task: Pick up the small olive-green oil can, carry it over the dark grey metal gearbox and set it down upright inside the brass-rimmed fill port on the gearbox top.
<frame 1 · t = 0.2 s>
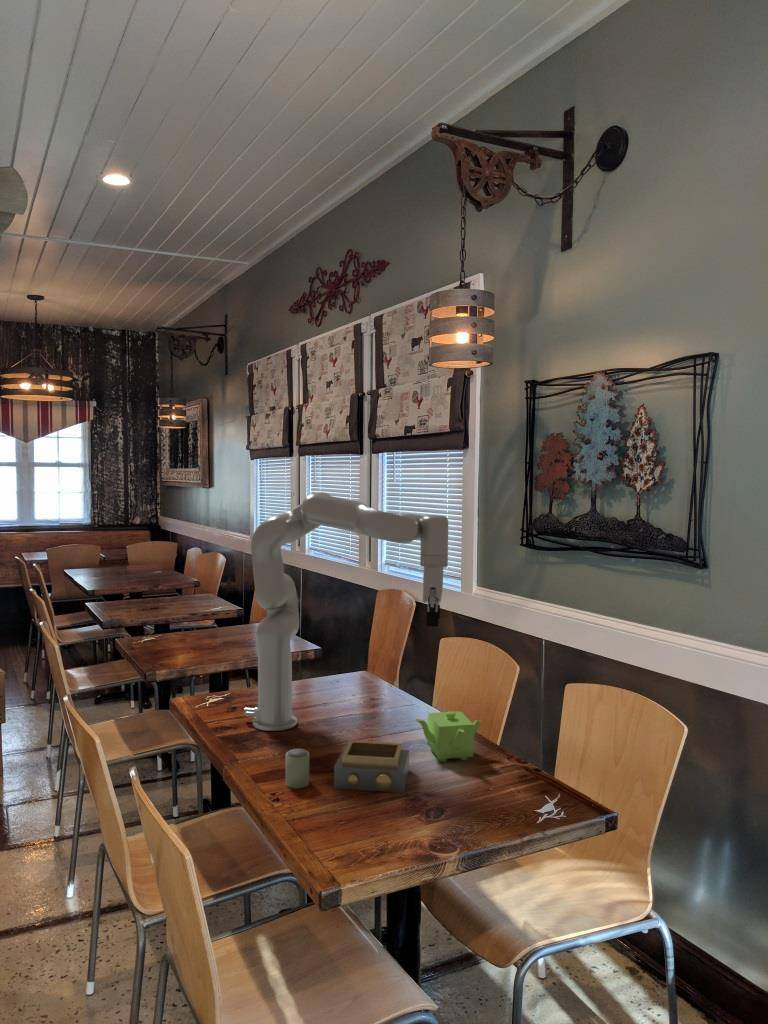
hand: (433, 622, 207), 31 cm above the table, fingers open, 9 cm apart
oil can: (297, 783, 175), on the table
kettle: (447, 756, 193), on the table
gearbox: (372, 778, 178), on the table
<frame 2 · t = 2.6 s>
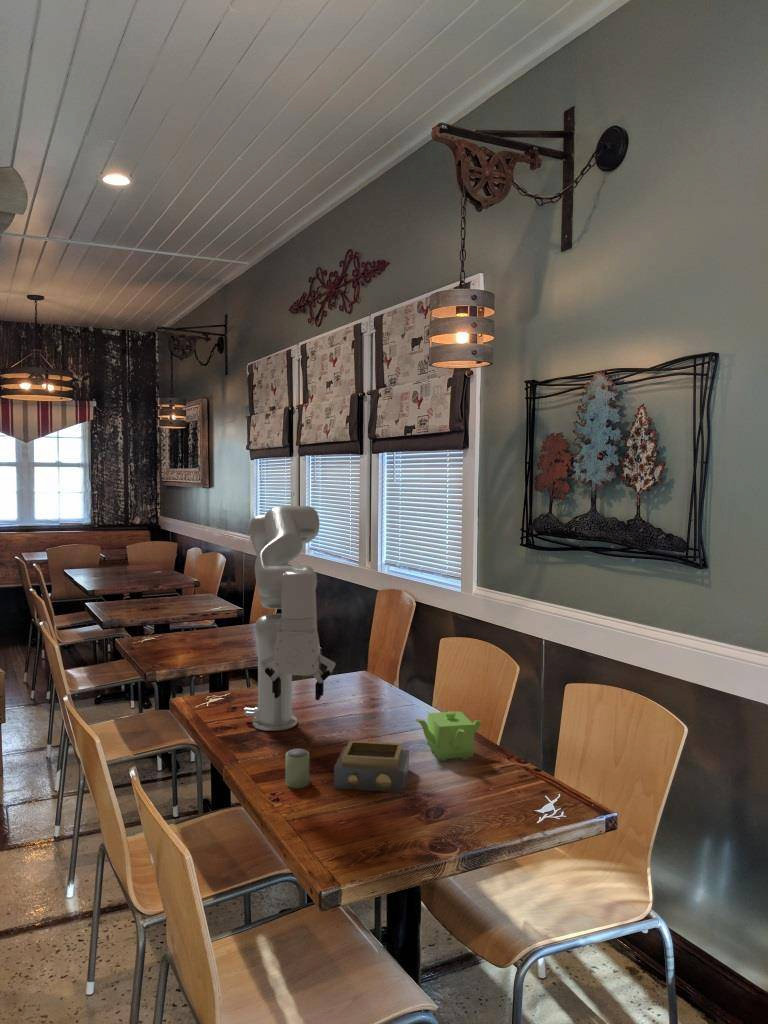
hand: (297, 697, 174), 20 cm above the table, fingers open, 9 cm apart
nothing on the table moved.
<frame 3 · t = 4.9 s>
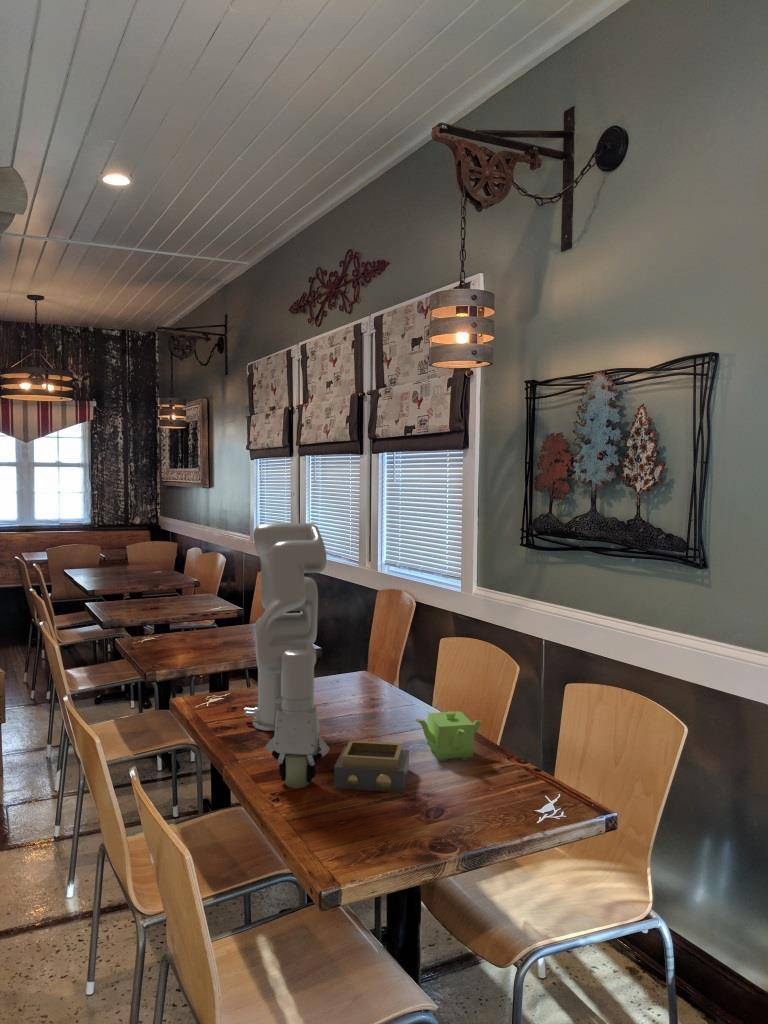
hand: (297, 778, 175), 1 cm above the table, fingers closed on oil can, 5 cm apart
oil can: (297, 783, 175), on the table, touching gripper
everything else where it was.
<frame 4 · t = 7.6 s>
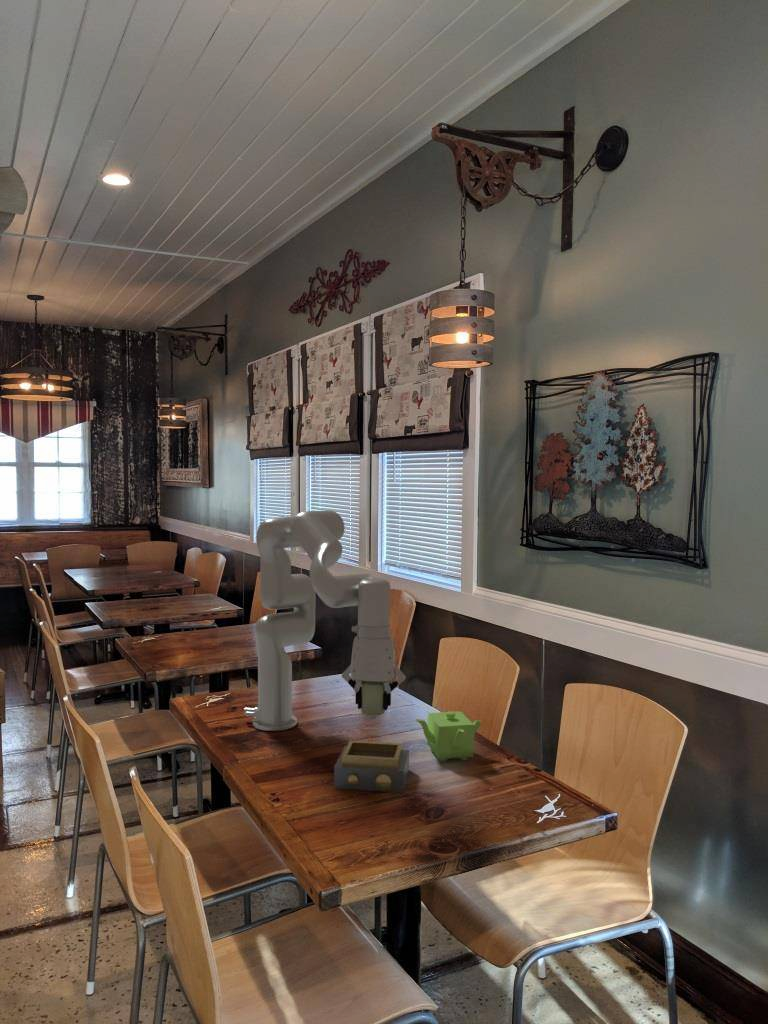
hand: (373, 707, 177), 17 cm above the table, fingers closed on oil can, 5 cm apart
oil can: (373, 711, 177), point 16 cm above the table, touching gripper
everything else where it was.
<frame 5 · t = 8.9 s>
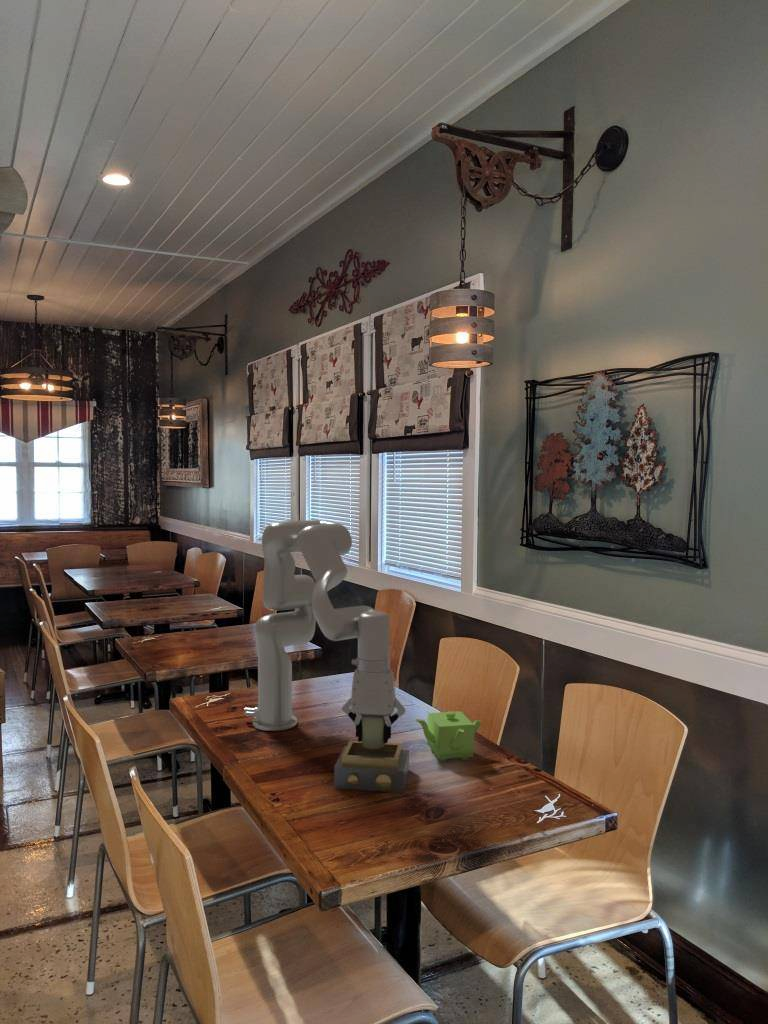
hand: (373, 739, 177), 9 cm above the table, fingers closed on oil can, 5 cm apart
oil can: (373, 744, 177), point 8 cm above the table, touching gripper
everything else where it was.
when the fingers open (7 cm above the table, at t = 10.2 s): oil can drops 1 cm, resting on gearbox.
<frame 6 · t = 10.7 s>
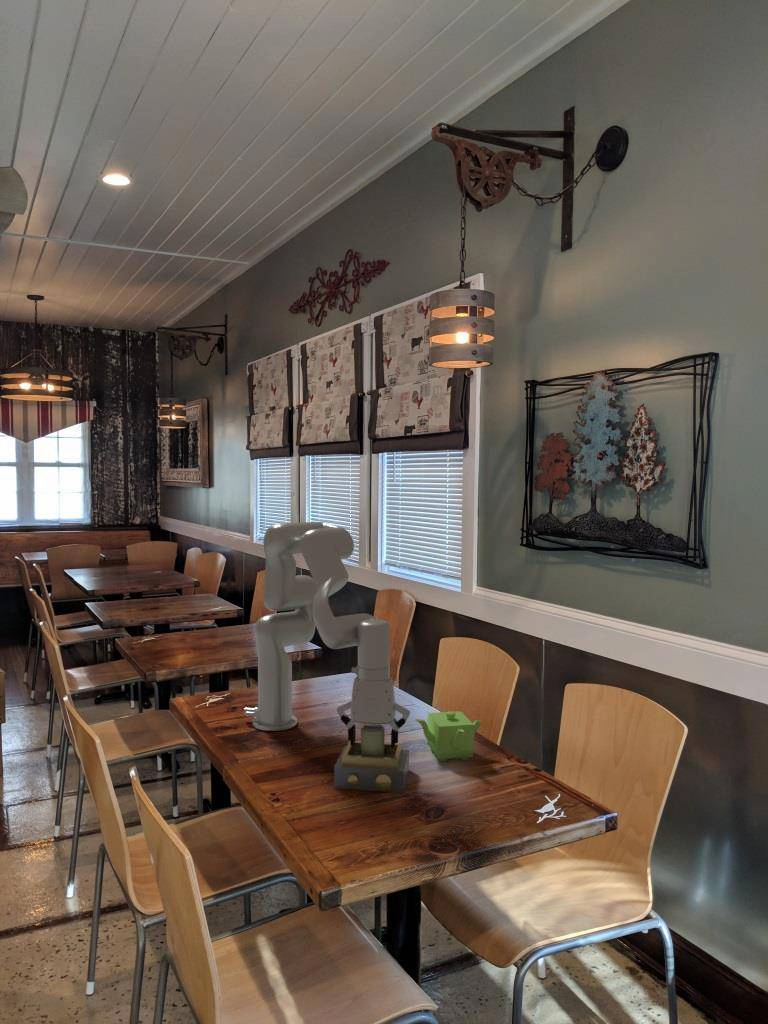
hand: (373, 744, 177), 8 cm above the table, fingers open, 9 cm apart
oil can: (372, 757, 178), point 5 cm above the table, touching gearbox
everything else where it was.
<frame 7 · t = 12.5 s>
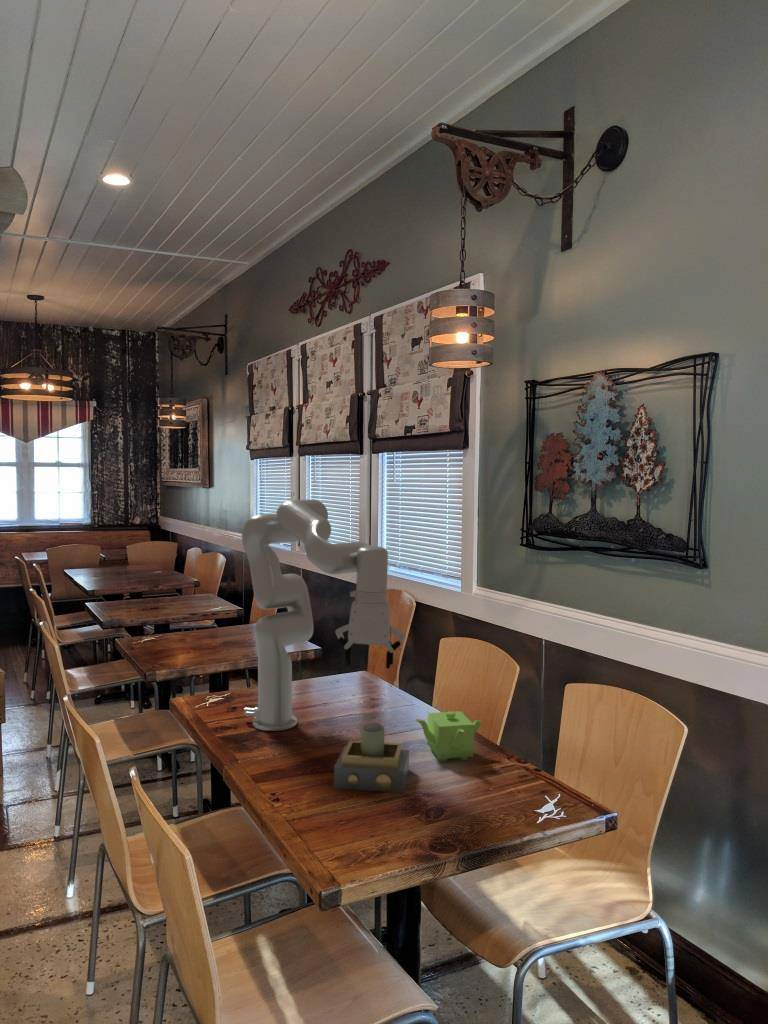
hand: (369, 665, 185), 25 cm above the table, fingers open, 9 cm apart
nothing on the table moved.
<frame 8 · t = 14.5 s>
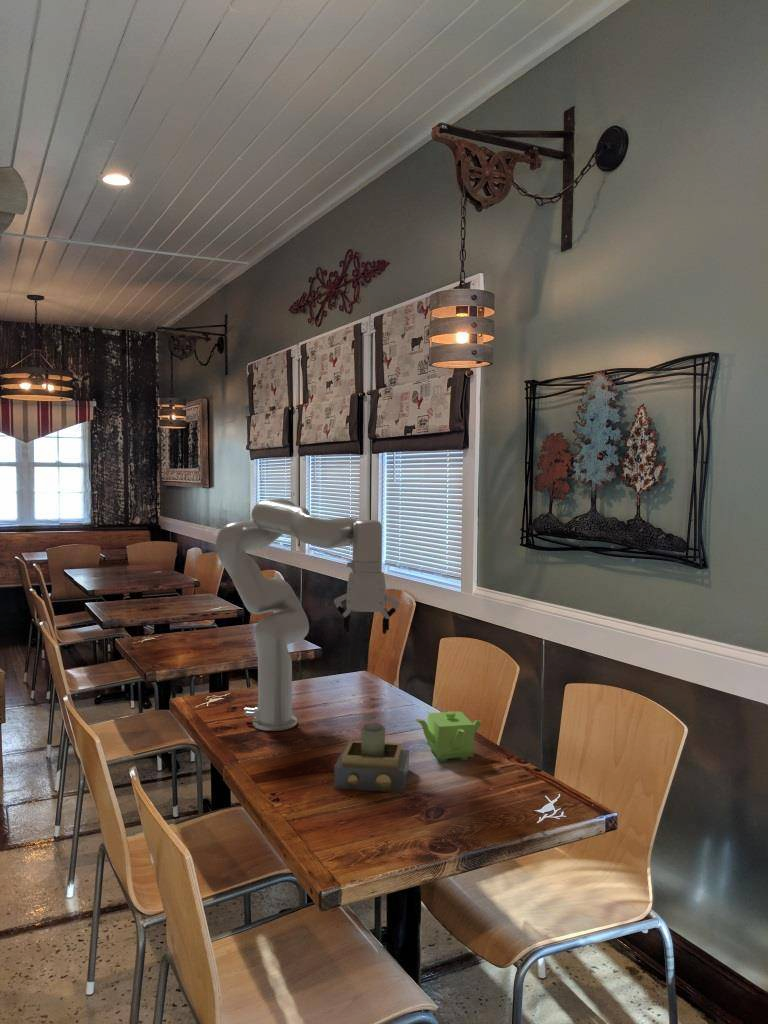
hand: (366, 632, 198), 30 cm above the table, fingers open, 9 cm apart
nothing on the table moved.
at the end: oil can inside the target area on the gearbox (0.1 cm from its centre), point 5.3 cm above the gearbox's base; oil can tilted 1°; the gripper is holding nothing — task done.
